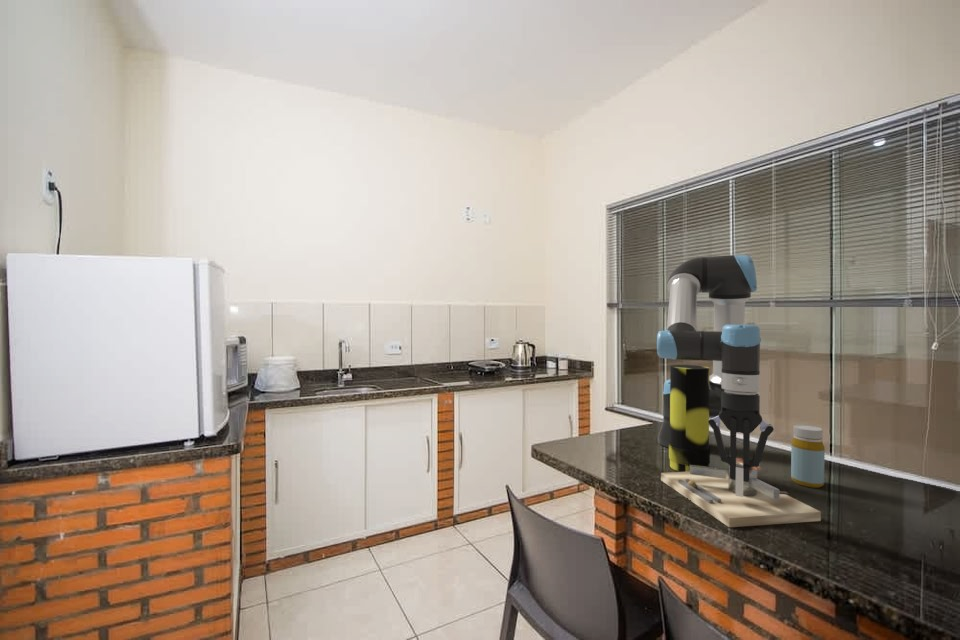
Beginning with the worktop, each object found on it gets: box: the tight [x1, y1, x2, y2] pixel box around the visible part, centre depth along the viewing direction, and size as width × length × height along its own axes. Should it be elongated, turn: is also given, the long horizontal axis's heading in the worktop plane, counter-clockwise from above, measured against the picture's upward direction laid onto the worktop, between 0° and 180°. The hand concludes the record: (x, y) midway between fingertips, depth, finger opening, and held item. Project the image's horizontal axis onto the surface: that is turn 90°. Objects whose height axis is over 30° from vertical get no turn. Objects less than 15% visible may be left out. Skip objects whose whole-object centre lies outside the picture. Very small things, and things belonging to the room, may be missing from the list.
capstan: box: [690, 457, 780, 499], centre depth 102 cm, size 17×20×7 cm
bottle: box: [790, 424, 826, 489], centre depth 113 cm, size 7×7×15 cm
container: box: [668, 364, 711, 472], centre depth 124 cm, size 11×11×30 cm
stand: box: [660, 469, 822, 528], centre depth 104 cm, size 26×23×4 cm
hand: (739, 494), depth 97 cm, fingers closed
